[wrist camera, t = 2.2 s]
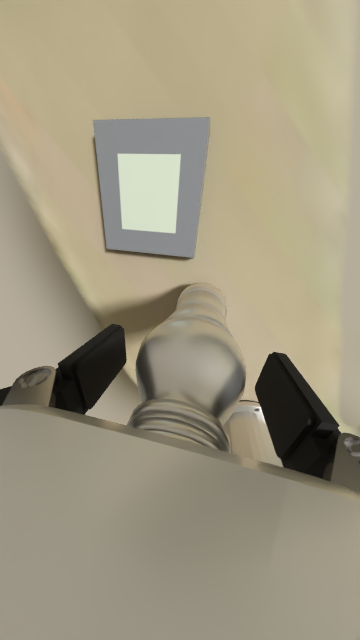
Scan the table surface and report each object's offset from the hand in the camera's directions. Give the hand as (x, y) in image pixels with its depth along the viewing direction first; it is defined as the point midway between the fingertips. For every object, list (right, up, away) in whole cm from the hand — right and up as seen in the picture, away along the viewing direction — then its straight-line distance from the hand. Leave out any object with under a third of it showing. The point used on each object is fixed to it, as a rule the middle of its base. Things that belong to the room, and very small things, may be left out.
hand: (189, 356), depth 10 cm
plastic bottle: (+3, +5, +13) cm, 14 cm away
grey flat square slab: (-4, +17, +9) cm, 20 cm away
